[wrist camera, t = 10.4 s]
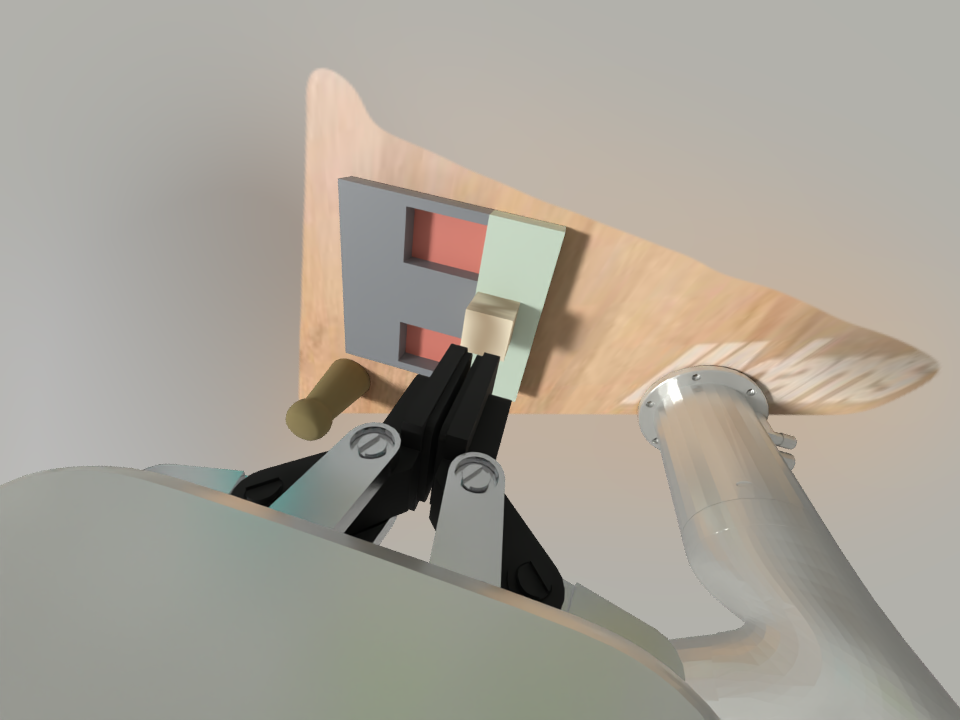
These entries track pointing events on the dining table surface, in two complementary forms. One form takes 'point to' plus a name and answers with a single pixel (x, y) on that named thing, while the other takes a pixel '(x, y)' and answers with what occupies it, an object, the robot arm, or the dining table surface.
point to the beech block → (489, 324)
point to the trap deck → (437, 274)
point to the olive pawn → (327, 399)
